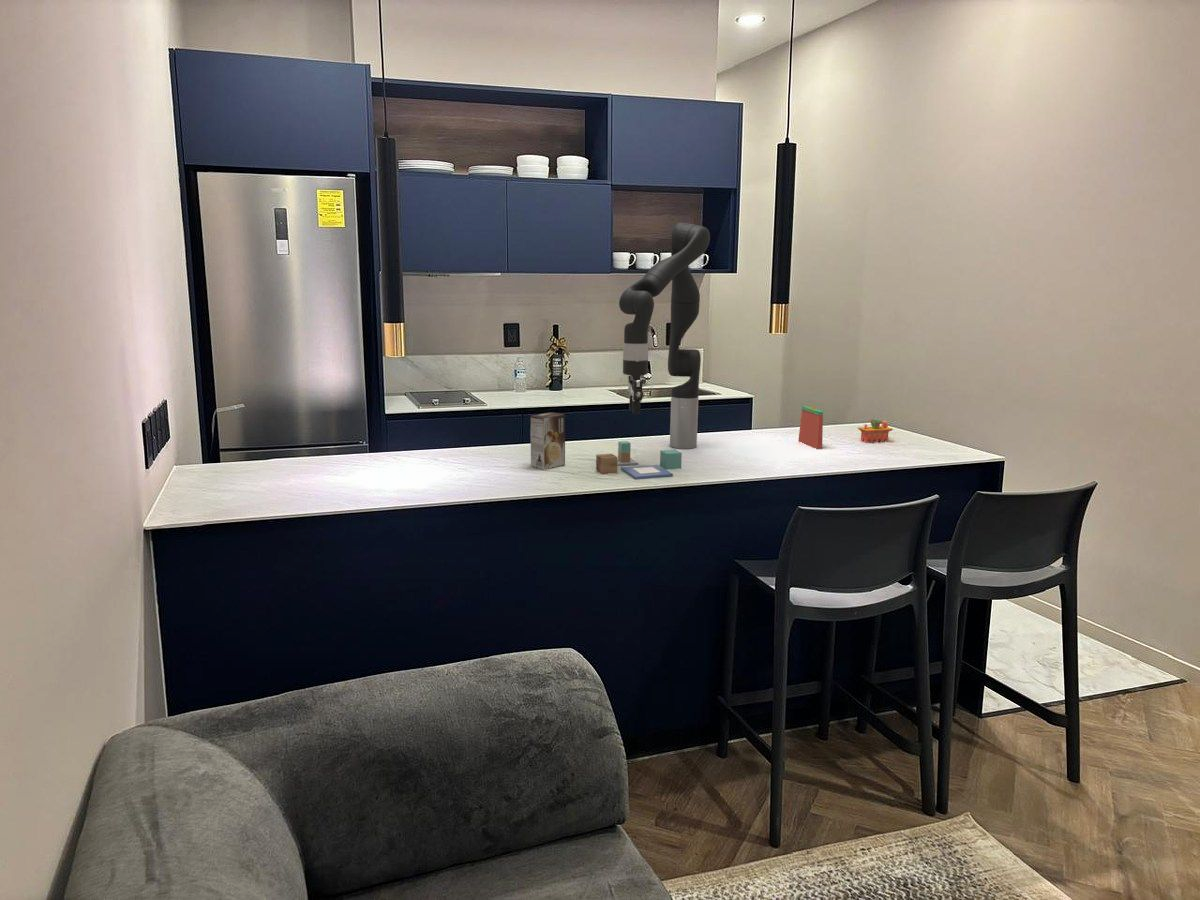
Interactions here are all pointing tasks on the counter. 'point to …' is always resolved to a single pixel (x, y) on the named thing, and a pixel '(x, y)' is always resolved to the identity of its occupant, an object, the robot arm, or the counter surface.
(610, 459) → the walnut cube
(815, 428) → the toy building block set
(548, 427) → the coffee box
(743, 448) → the counter surface
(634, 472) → the board
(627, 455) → the stacked block model
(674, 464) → the teal cube
